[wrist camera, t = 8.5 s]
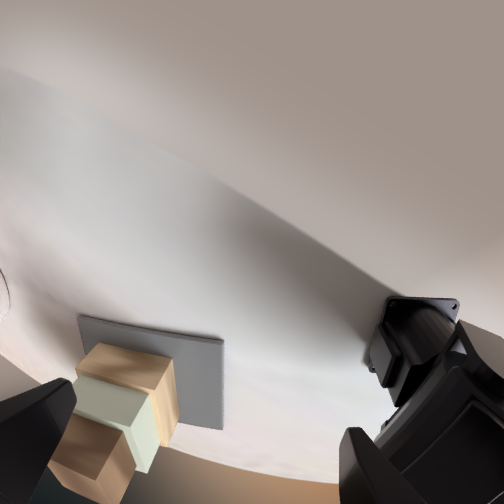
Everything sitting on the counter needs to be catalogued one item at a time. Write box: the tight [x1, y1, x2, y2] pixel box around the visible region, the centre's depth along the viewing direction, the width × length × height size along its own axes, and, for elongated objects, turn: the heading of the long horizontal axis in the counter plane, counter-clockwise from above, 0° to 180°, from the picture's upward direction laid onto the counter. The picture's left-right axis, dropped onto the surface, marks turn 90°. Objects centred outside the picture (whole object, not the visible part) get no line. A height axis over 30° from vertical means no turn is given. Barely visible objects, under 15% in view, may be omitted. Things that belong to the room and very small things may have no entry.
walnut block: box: [48, 413, 137, 504], centre depth 14 cm, size 4×4×4 cm
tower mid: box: [72, 374, 160, 473], centre depth 18 cm, size 6×6×4 cm
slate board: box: [77, 315, 224, 430], centre depth 24 cm, size 13×10×1 cm
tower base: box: [75, 343, 180, 447], centre depth 22 cm, size 7×7×4 cm
